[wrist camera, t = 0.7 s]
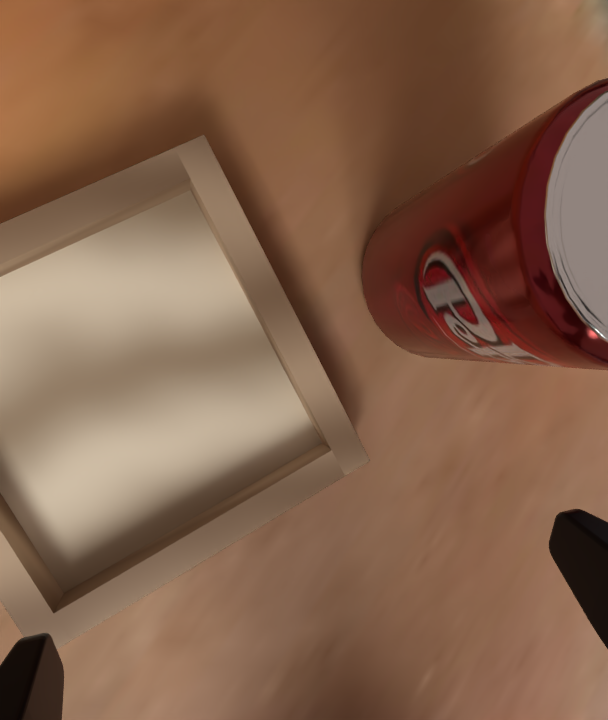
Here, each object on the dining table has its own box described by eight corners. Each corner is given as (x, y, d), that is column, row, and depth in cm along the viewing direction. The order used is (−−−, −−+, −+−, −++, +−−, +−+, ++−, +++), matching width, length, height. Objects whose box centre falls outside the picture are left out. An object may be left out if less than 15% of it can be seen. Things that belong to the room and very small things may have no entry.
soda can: (390, 173, 23) (599, -2, 11) (522, 238, 25) (825, 145, 13) (333, 323, 23) (487, 304, 11) (470, 380, 24) (733, 417, 13)
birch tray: (351, 448, 23) (370, 460, 21) (57, 622, 21) (38, 659, 18) (202, 158, 21) (204, 134, 19) (-141, 311, 19) (-191, 307, 16)
